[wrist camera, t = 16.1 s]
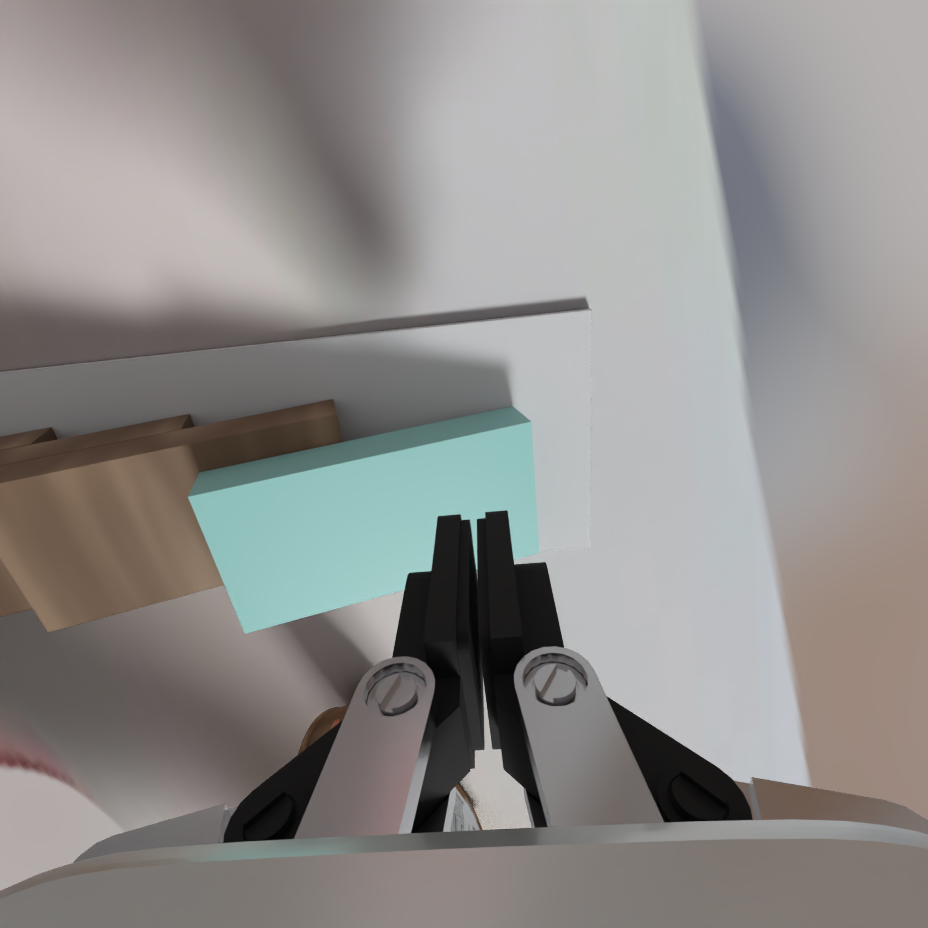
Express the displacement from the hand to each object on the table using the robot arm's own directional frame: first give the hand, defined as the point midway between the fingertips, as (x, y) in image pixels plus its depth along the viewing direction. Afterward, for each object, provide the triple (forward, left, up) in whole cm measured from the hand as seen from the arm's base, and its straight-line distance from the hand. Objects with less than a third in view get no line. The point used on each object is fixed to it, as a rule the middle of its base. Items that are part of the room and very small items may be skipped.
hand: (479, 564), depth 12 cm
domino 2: (+3, +3, -6) cm, 7 cm away
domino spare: (-2, -1, -6) cm, 6 cm away
